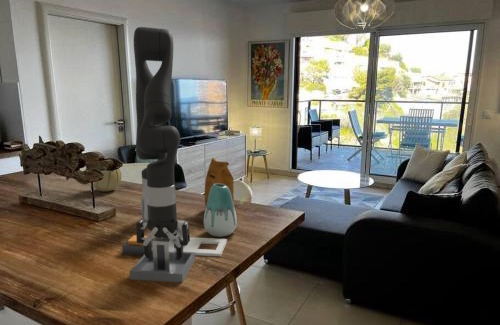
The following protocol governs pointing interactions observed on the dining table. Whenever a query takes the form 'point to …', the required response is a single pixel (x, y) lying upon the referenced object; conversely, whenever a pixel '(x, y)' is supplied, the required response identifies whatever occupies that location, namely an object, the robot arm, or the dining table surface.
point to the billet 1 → (163, 254)
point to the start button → (135, 240)
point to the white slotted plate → (195, 244)
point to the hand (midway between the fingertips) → (164, 257)
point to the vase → (220, 211)
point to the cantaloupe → (109, 181)
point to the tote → (146, 271)
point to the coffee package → (218, 177)
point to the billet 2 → (179, 232)
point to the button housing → (134, 248)
